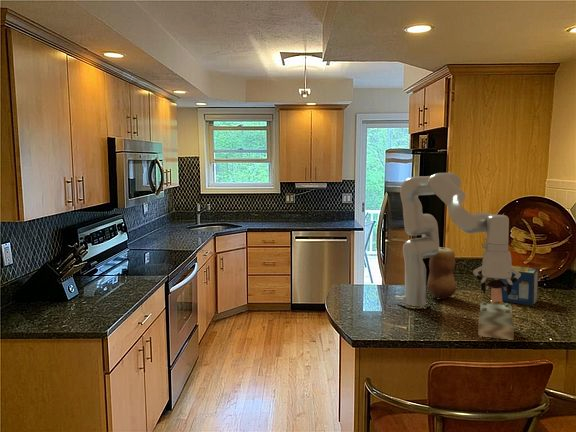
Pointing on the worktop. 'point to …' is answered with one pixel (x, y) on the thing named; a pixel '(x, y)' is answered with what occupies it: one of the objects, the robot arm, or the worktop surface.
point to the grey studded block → (496, 321)
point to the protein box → (522, 287)
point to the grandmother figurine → (496, 290)
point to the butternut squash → (442, 273)
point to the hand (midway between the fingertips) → (496, 293)
